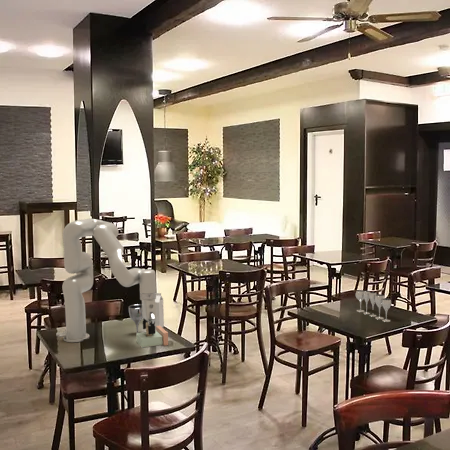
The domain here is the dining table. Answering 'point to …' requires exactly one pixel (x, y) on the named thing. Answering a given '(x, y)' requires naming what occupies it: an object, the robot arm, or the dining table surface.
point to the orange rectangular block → (163, 334)
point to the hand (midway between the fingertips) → (149, 331)
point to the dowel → (147, 330)
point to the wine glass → (136, 314)
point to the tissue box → (149, 339)
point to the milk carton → (159, 311)
